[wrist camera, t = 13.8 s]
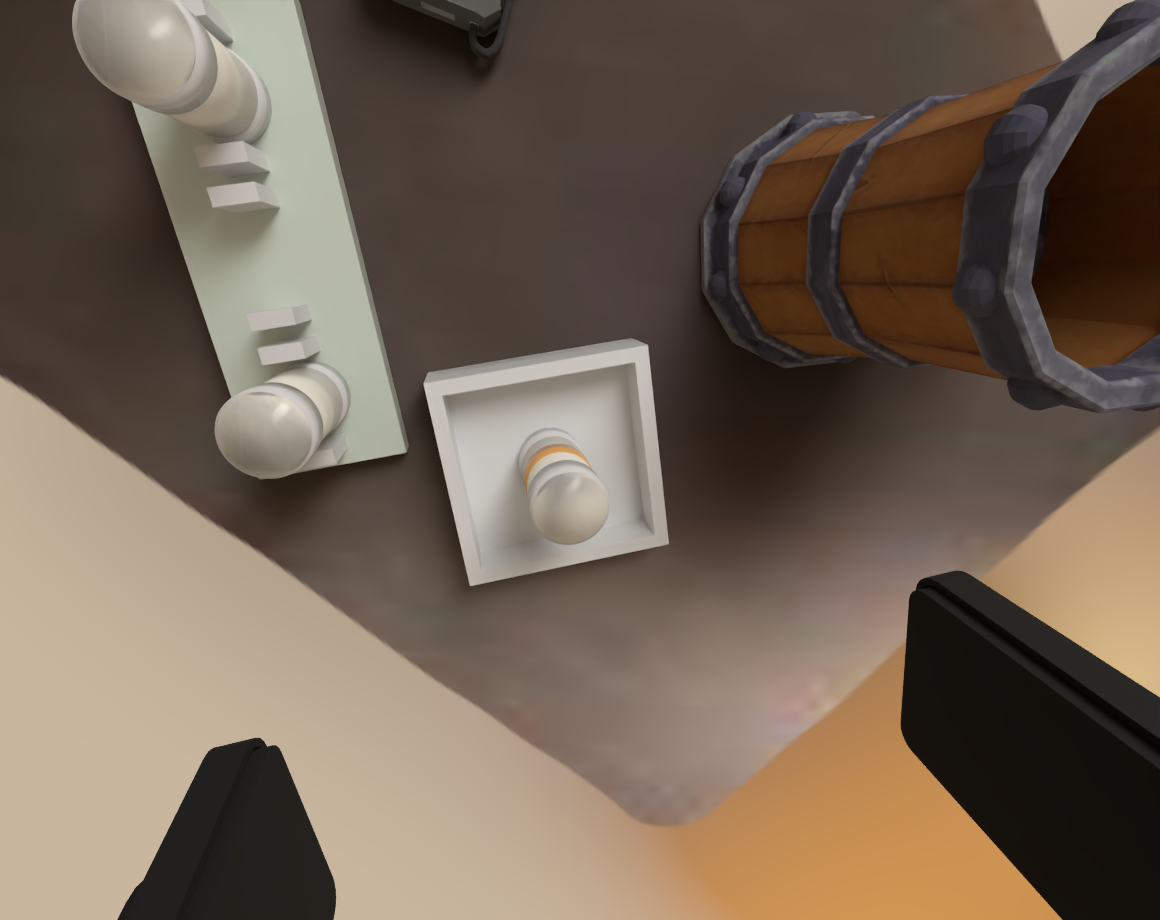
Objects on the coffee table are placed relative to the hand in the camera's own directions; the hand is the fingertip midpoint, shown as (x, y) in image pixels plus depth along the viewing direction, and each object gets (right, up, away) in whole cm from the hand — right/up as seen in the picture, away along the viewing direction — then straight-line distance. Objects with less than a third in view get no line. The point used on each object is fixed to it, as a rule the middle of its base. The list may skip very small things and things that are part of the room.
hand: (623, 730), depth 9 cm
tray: (-3, +4, +28) cm, 29 cm away
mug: (+16, +18, +28) cm, 36 cm away
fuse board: (-16, +14, +23) cm, 31 cm away
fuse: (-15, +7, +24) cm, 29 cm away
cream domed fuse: (-17, +20, +19) cm, 33 cm away
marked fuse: (-2, +4, +27) cm, 28 cm away
